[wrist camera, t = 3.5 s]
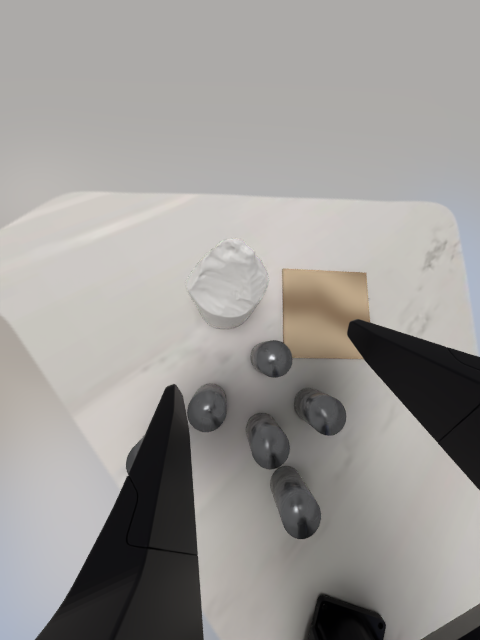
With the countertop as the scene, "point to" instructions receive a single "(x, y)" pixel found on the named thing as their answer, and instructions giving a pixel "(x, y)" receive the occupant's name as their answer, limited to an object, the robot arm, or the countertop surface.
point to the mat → (322, 312)
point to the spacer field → (272, 436)
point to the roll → (227, 283)
